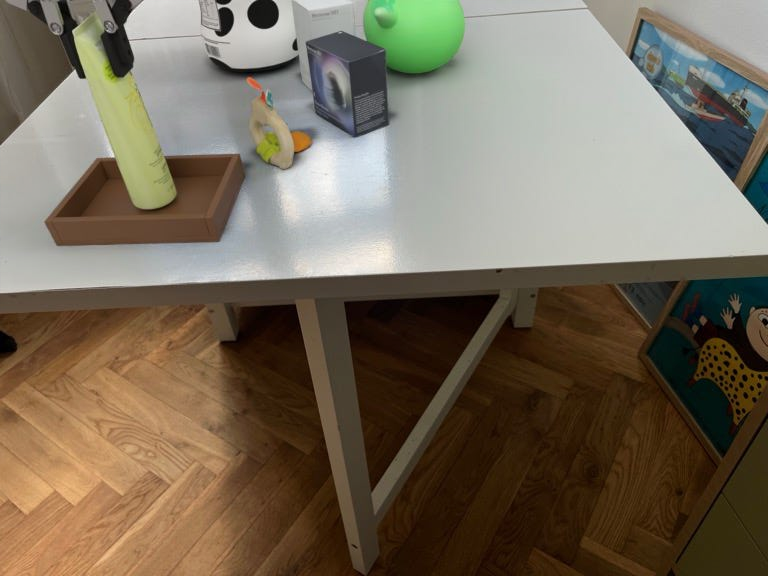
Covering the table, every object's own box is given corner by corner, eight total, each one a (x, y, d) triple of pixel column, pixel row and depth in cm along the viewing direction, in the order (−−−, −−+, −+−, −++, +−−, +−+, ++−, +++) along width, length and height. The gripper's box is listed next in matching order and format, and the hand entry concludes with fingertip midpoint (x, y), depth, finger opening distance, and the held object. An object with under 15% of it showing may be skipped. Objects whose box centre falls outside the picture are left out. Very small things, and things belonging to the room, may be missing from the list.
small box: (311, 114, 81) (301, 39, 74) (348, 102, 84) (342, 29, 77) (353, 139, 75) (346, 60, 68) (391, 124, 78) (388, 47, 71)
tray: (56, 245, 59) (43, 221, 57) (106, 180, 69) (96, 157, 67) (219, 241, 58) (212, 217, 56) (245, 175, 69) (240, 153, 66)
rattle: (333, 160, 71) (322, 69, 63) (274, 179, 68) (255, 86, 60) (307, 138, 75) (294, 52, 68) (251, 156, 72) (231, 67, 65)
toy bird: (480, 78, 89) (487, -24, 79) (381, 96, 85) (376, -9, 75) (434, 45, 102) (436, -47, 92) (347, 59, 98) (339, -35, 88)
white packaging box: (317, 98, 86) (306, 9, 77) (301, 82, 91) (289, -2, 82) (360, 88, 88) (354, 1, 80) (343, 73, 93) (335, -10, 85)
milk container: (315, 45, 104) (302, -67, 92) (295, 80, 92) (277, -44, 80) (226, 46, 106) (202, -64, 94) (195, 80, 93) (162, -41, 81)
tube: (188, 199, 63) (127, 15, 50) (147, 218, 60) (70, 29, 47) (165, 182, 66) (101, 4, 53) (124, 199, 63) (47, 17, 50)
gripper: (140, -181, 44) (200, 56, 56) (-59, -171, 44) (43, 62, 57) (103, -178, 38) (178, 85, 50) (-124, -167, 39) (5, 91, 51)
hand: (106, 71), depth 53 cm, fingers closed on tube, 2 cm apart
